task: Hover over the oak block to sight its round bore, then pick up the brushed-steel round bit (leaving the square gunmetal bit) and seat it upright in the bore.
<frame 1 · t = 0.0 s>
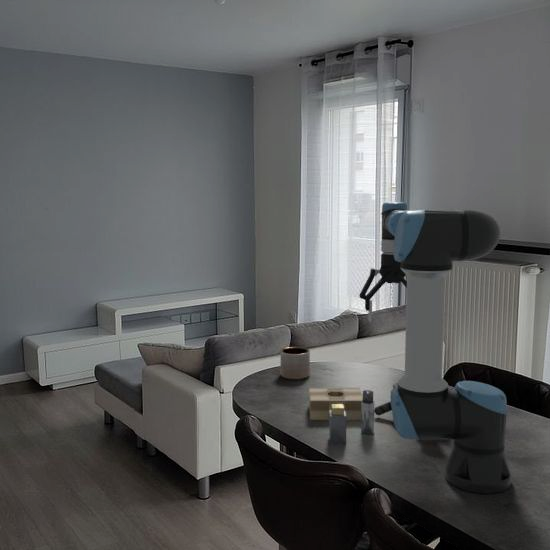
hand: (392, 321, 200), 28 cm above the table, fingers open, 13 cm apart
tool: (403, 412, 192), point 3 cm above the table, touching bore block
round bit: (367, 432, 185), on the table
square bit: (337, 440, 179), on the table
planter: (295, 376, 238), on the table
bore block: (335, 412, 200), on the table
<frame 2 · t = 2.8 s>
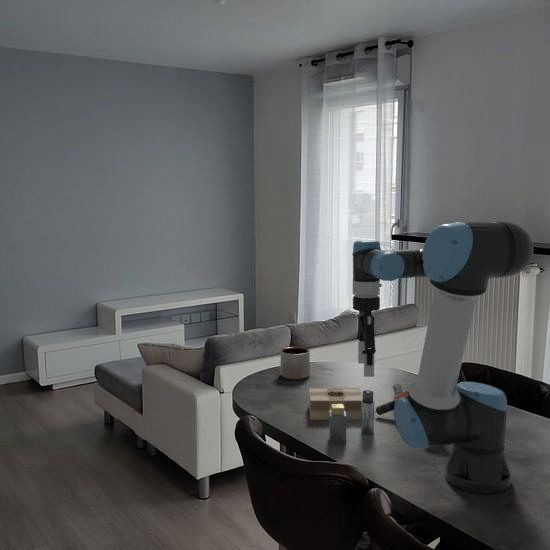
hand: (365, 369, 183), 18 cm above the table, fingers open, 13 cm apart
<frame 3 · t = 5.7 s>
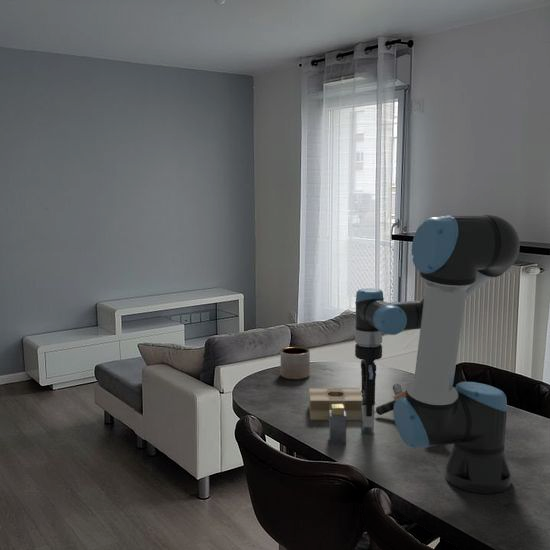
hand: (367, 423, 185), 3 cm above the table, fingers closed on round bit, 3 cm apart
round bit: (367, 431, 185), on the table, touching gripper
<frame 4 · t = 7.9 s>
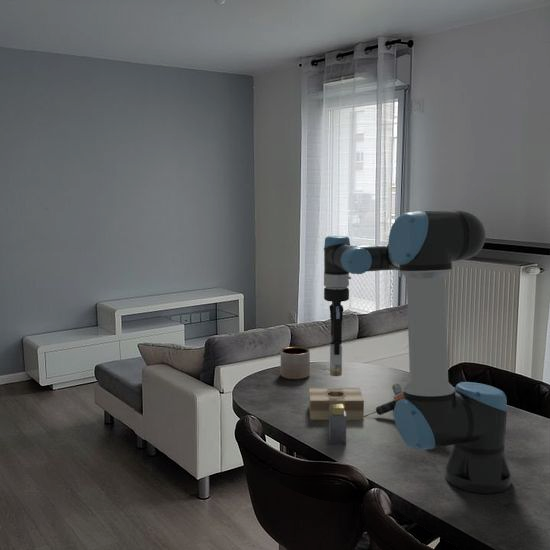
hand: (335, 362, 198), 16 cm above the table, fingers closed on round bit, 3 cm apart
round bit: (335, 374, 199), point 12 cm above the table, touching gripper
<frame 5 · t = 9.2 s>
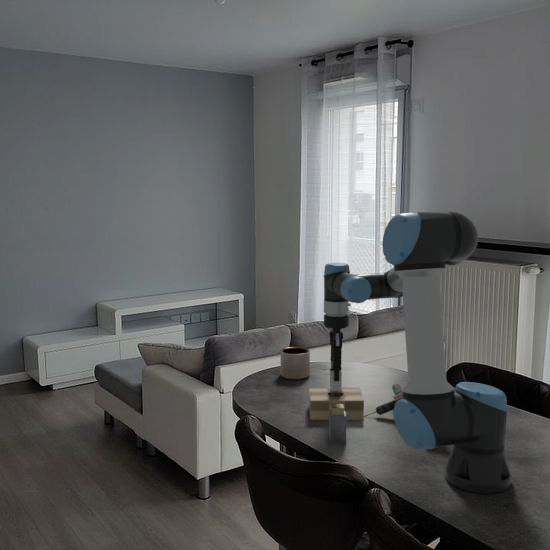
hand: (335, 388, 199), 8 cm above the table, fingers closed on round bit, 3 cm apart
round bit: (335, 400, 200), point 4 cm above the table, touching gripper
when the fingers open (7 cm above the table, at t = 10.4 s): round bit drops 3 cm, on the table.
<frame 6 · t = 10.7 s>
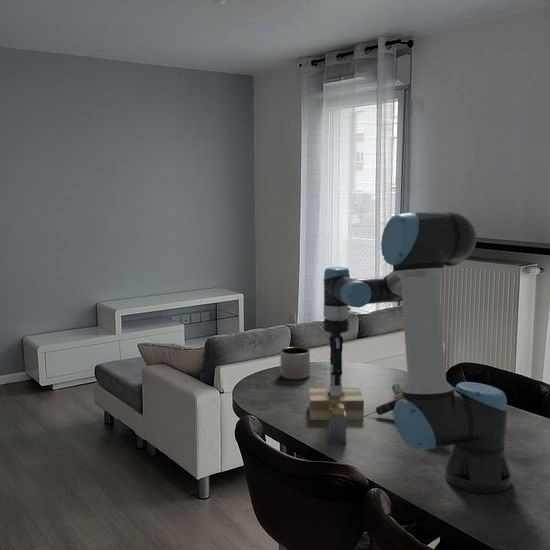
hand: (335, 390, 199), 7 cm above the table, fingers open, 8 cm apart
round bit: (335, 412, 200), on the table
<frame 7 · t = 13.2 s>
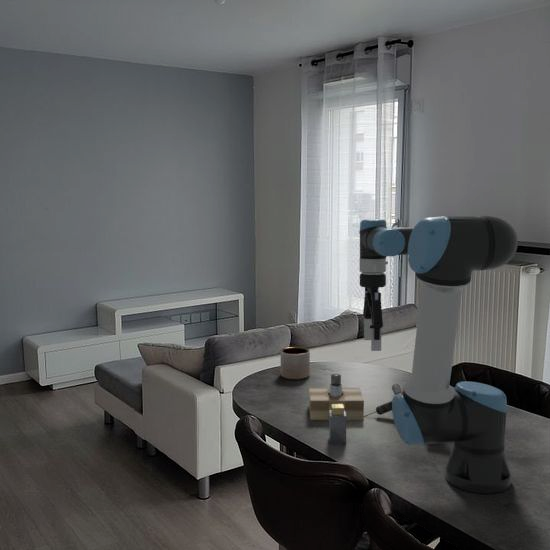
hand: (372, 345, 189), 24 cm above the table, fingers open, 13 cm apart
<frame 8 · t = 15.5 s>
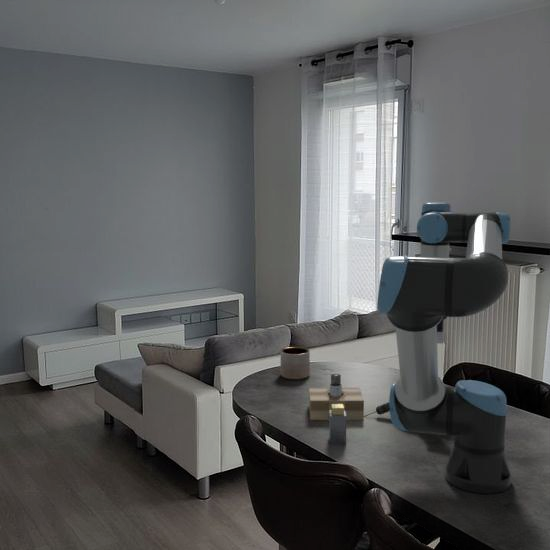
hand: (432, 336, 177), 29 cm above the table, fingers open, 13 cm apart
at the end: round bit 0.0 cm off-centre on the bore block, point 0.0 cm above the bore block's base; round bit tilted 0°; the gripper is holding nothing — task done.
